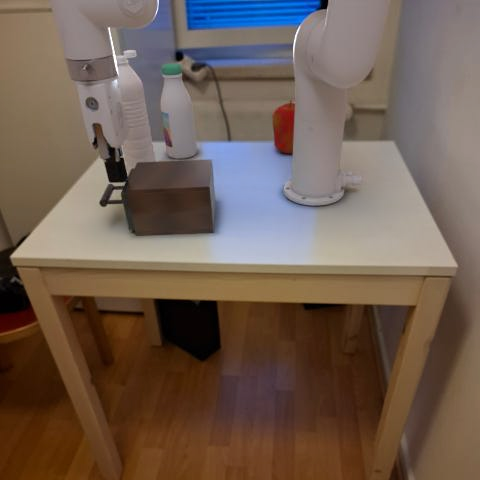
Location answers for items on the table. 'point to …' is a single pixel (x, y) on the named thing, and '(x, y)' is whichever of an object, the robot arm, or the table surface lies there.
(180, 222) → the cabinet
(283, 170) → the table surface
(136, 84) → the water bottle
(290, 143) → the apple
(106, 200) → the drawer
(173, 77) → the milk bottle
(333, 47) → the robot arm
